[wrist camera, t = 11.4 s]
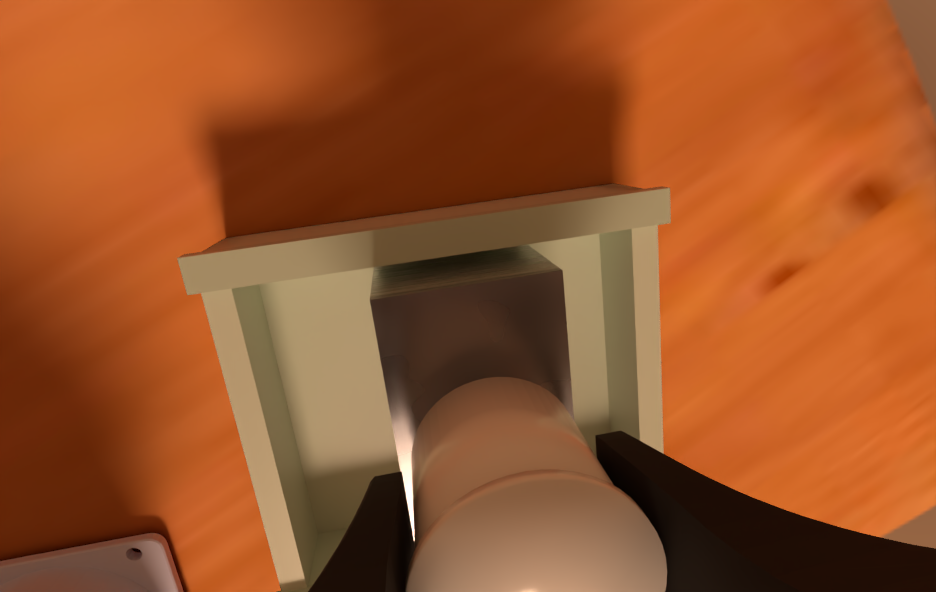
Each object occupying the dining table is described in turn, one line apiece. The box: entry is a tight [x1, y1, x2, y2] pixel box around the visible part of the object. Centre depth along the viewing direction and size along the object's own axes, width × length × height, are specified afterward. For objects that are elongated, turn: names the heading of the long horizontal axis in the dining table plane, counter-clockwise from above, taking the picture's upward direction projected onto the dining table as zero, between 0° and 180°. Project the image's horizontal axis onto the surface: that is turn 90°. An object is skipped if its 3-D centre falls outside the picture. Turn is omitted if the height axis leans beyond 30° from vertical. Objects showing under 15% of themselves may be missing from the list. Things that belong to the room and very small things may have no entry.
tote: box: [177, 183, 671, 592], centre depth 18 cm, size 13×12×4 cm
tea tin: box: [370, 244, 574, 542], centre depth 17 cm, size 5×8×5 cm, turn 7°
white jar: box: [405, 377, 667, 592], centre depth 12 cm, size 5×5×4 cm
